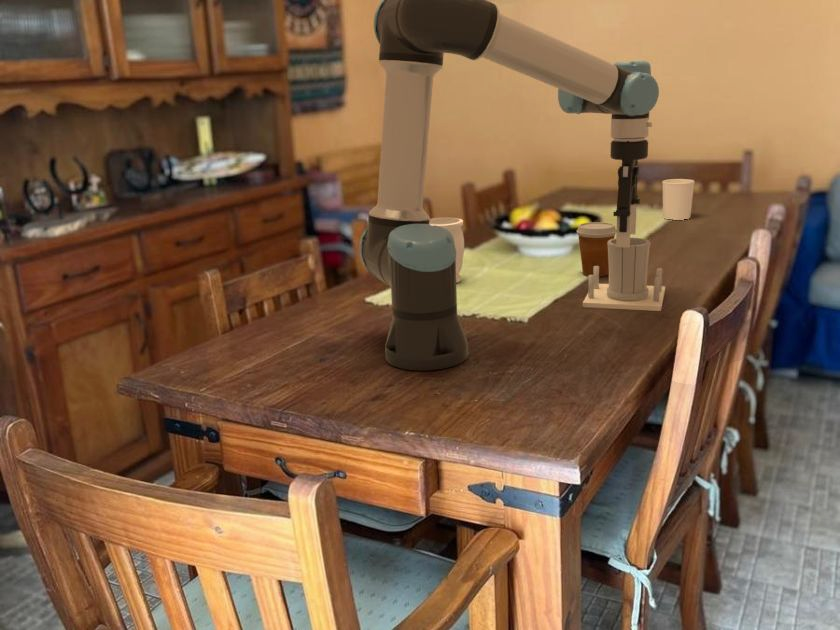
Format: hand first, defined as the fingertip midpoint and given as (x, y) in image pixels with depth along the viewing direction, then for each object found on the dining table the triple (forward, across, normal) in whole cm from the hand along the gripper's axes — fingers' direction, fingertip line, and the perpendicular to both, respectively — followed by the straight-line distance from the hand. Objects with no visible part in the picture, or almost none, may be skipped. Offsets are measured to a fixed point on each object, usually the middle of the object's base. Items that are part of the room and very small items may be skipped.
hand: (626, 240), depth 174 cm
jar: (+13, +8, +44) cm, 47 cm away
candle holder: (+13, +96, -7) cm, 97 cm away
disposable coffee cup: (+13, +21, +9) cm, 26 cm away
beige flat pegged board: (+13, 0, 0) cm, 13 cm away
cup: (+12, 0, 0) cm, 12 cm away
